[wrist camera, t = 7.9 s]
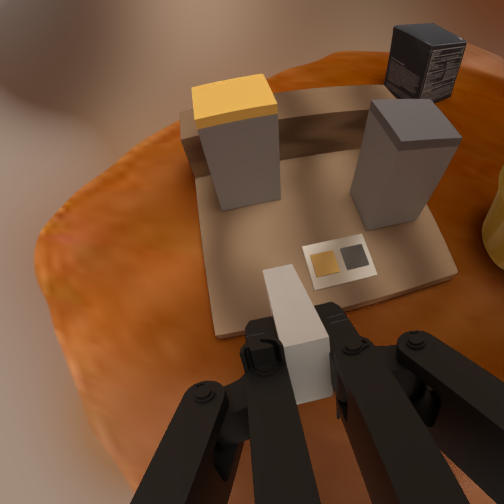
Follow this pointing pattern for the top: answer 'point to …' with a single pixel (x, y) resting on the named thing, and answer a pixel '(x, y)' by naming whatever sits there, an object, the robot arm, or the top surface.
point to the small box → (423, 62)
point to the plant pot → (495, 226)
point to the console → (310, 218)
